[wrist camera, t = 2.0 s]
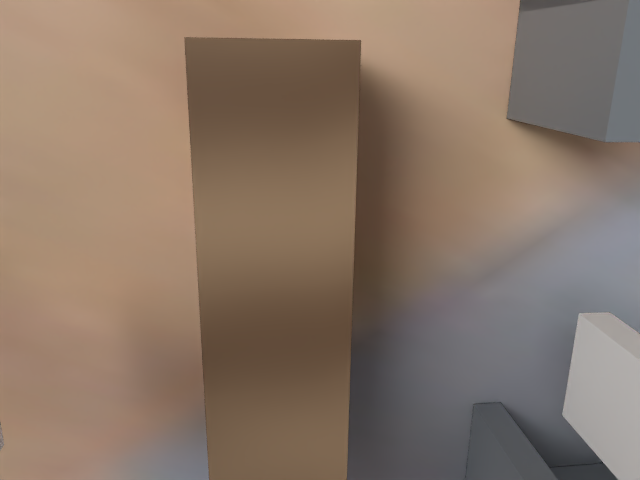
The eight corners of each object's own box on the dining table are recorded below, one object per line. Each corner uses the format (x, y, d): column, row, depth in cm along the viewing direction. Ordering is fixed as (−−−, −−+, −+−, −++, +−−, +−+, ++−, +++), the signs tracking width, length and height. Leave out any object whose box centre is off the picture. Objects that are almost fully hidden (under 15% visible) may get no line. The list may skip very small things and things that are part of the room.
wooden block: (320, 456, 21) (343, 575, 16) (220, 464, 20) (215, 588, 16) (326, 44, 16) (360, 39, 12) (201, 42, 16) (184, 37, 11)
